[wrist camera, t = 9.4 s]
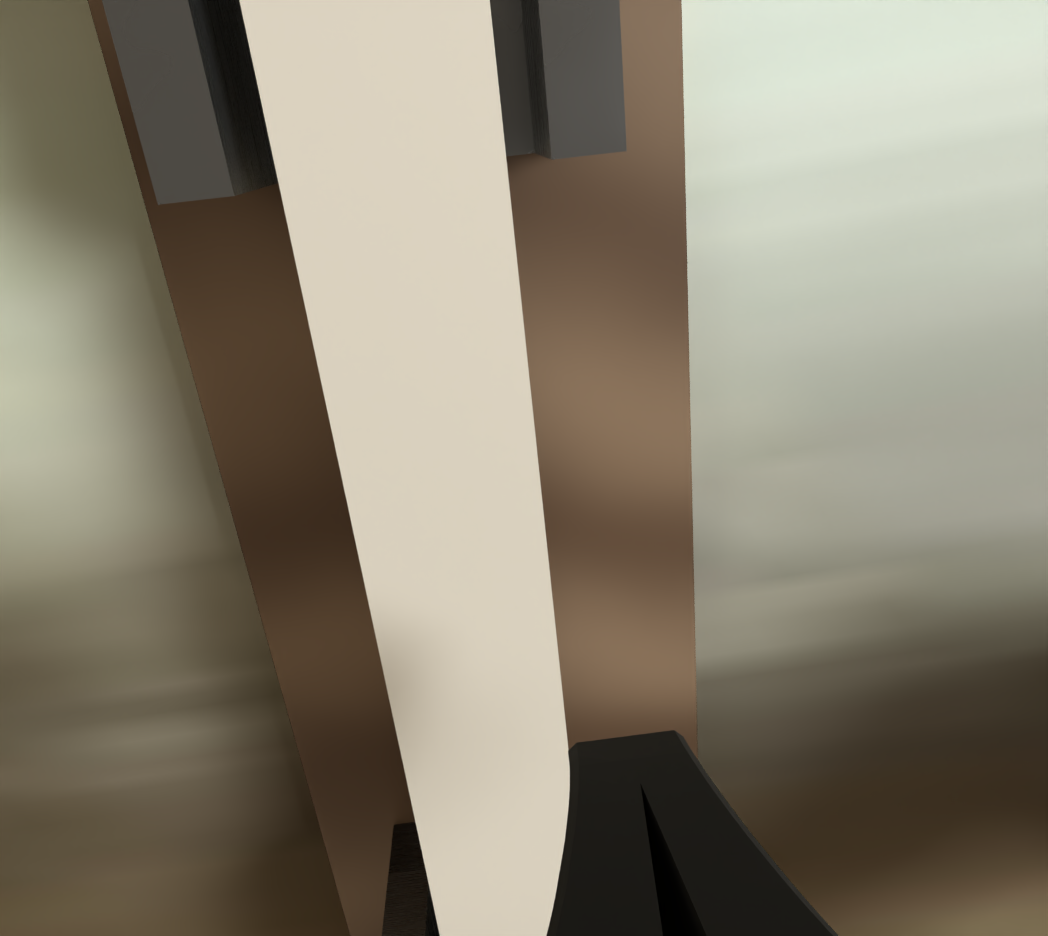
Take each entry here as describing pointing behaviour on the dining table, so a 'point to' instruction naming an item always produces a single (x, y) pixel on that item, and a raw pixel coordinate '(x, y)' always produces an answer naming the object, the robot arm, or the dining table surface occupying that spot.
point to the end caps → (247, 164)
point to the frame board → (560, 428)
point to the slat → (430, 420)
